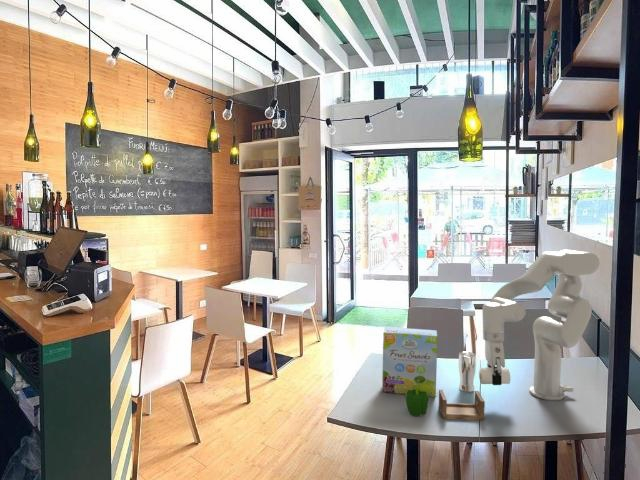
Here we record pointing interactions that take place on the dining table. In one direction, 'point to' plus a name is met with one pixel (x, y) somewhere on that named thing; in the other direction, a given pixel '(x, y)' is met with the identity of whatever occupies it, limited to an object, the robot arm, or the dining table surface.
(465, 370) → the beer glass
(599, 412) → the dining table surface
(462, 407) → the cradle
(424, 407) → the bell pepper
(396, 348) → the snack box
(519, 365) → the dining table surface
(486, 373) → the roll
